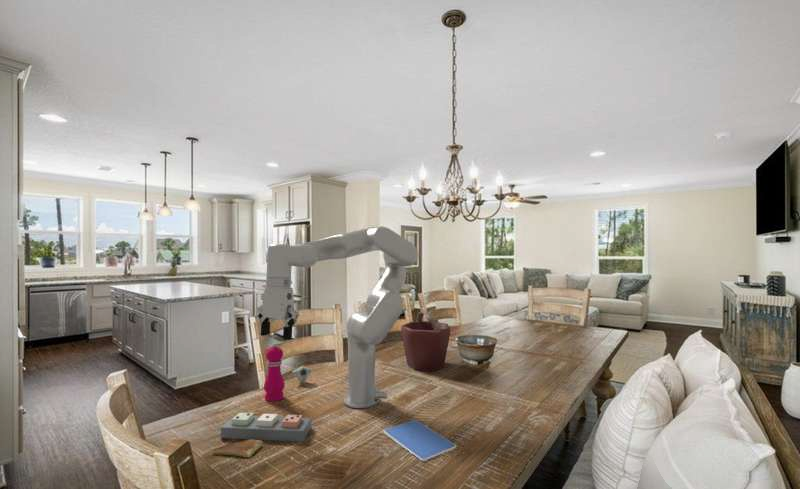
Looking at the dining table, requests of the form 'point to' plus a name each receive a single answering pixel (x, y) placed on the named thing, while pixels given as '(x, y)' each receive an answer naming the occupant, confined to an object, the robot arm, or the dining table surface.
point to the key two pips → (242, 419)
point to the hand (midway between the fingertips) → (276, 337)
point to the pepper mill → (274, 374)
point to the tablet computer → (419, 439)
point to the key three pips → (292, 421)
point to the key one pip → (267, 420)
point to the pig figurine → (302, 373)
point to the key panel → (266, 431)
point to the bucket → (425, 343)
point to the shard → (240, 448)
